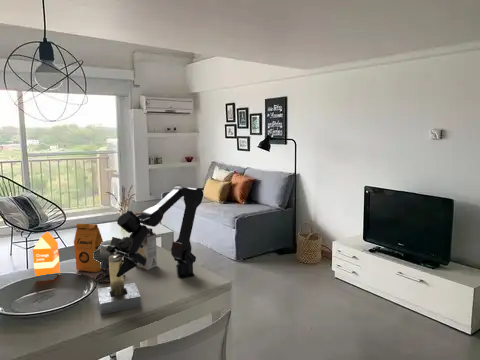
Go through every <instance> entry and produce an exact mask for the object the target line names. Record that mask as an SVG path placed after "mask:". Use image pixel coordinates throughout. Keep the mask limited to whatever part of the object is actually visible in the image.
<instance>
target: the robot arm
mask: <svg viewBox="0 0 480 360" xmlns="http://www.w3.org/2000/svg"><path fill="white" fill-rule="evenodd" d="M182 197H183V202H184V204H185V207H184V212H183V216H182V221H181V225H180V229H179V230H180V231H179V235H178V238H177V239H176V240H175V241H172V244H171V249H170V251H171V253H170V254H171V256H172V257H173V259H174V261H176V262H177V264H176V265H175V270H176V275H177V276H178V278H180V279H183V278H190V277H193V276H195V273H194V263H195V262H196V261H197V256H196V255H194V253H192V243H191V236H192V231H193V227H194V223H195V219H196V217H195V216H196V212H197V208H198V207H199V206H200V205H201V204H202V201H203V198H204V191H203V189H202V188H200V187H192V186H191V187H189V186H188V187H185V186H178V185H176V186H174V187H173V188H172V189H171V191H170V192H168V193H167V194H166V195H165V196H164V197H163V198H162V199H161V200H160V201H158V203H156V205H154V206H151V207H148V208H147V209H145V210H143V211H142V212H141V213H140V214H138V215H136V214H135V213H134V212H133V211H132V210H127V211H126V212H124V213H123V214H121V215H120V216H119V217H118V218H117V221H116V223H117V225H118V226H119V227H120V228H122V230H124V231H125V232H127V233H128V234H129V236H126V237H122V238H120V237H119V238H118V237H113V236H111V237H112V238H111V240H110V244H109V245H108V246H107V247H106V249H105V251H106V252H108V253H109V254H110V256H111V255H114V254H121V255H122V261H123V264H122V266H121V268H120V270H119V271H118V273H117V277H118V278H119V277H120V276H122V275H123V276H124V275H125V274H126V273H128V272H129V271H131V270H132V269H134V268H135V267H136V266H138V265H137V263H139V265H141V266H145V264H146V262H147V260H146V258H145V257H143V256H142V255H141V254H140V253H137V251H138V250H139V248H143V246H142V243H143V242H144V240H145V239H146V237H147V235H151V236H153V233H154V231H153V228H151V227H154V228H155V227H157V226H158V225H159V224H160V222H161V221H162V220H163V218H164V215H165V213H166V212H167V211H168V210H169V209H171V208H172V207H173V206H174V205H175V204H176V203H177V202H178V201H180V199H181V198H182ZM147 226H148V227H147ZM108 275H110V271H109V270H108Z"/></svg>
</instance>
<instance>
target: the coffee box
mask: <svg viewBox="0 0 480 360" xmlns="http://www.w3.org/2000/svg"><path fill="white" fill-rule="evenodd" d="M156 235H157V234H156V233H155V232H153V236H151V235H147V237H146V239H145V240H144V242H143V243H142V246H143V248H139V250H138V251H137V253H140V254H141V255H142V256H143V257H145V258H146V260H147V262H146V264H145V266H141V265H139V263H137V265H138V266H136V267H137V268H140V269H144V270H147V271H148V270H151V269H153V268H155V267H157V266H158V259H157V258H158V257H157V253H158V252H157V236H156Z"/></svg>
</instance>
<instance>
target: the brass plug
mask: <svg viewBox="0 0 480 360" xmlns="http://www.w3.org/2000/svg"><path fill="white" fill-rule="evenodd" d="M122 260H123V257H122V255H121V254H114V255H111V254H110V255H109V256H108V266H109V267H108V268H109V269H108V272H109V271H110V274H109V281H110V284H109V285H110V287H111V294H112V295H120V294H123V293H124V284H125V279H124V278H125V277H124V274H123V275H122V276H120V277H119V278H118V277H117V273H118V271H119V270H120V268H121V266H122V264H123V261H122Z"/></svg>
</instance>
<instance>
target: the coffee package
mask: <svg viewBox="0 0 480 360" xmlns="http://www.w3.org/2000/svg"><path fill="white" fill-rule="evenodd" d="M75 228H76V229H75V230H76V231H75V235H74V239H73V247H74V254H75V256H74V257H75V265H76V266H75V267H76V268H75V270H76V271H84V272H85V271H86V272H90V273H99V272H101V271H102V270H101V268H100V262H98V261H96V260H94V258H93V253H94V251H96V250H97V249H98V247H99V246H100V244H101V242H103V243H104V241H103V237H102V234H101V231H100V228H99V226H98V224H93V223H76V225H75Z"/></svg>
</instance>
